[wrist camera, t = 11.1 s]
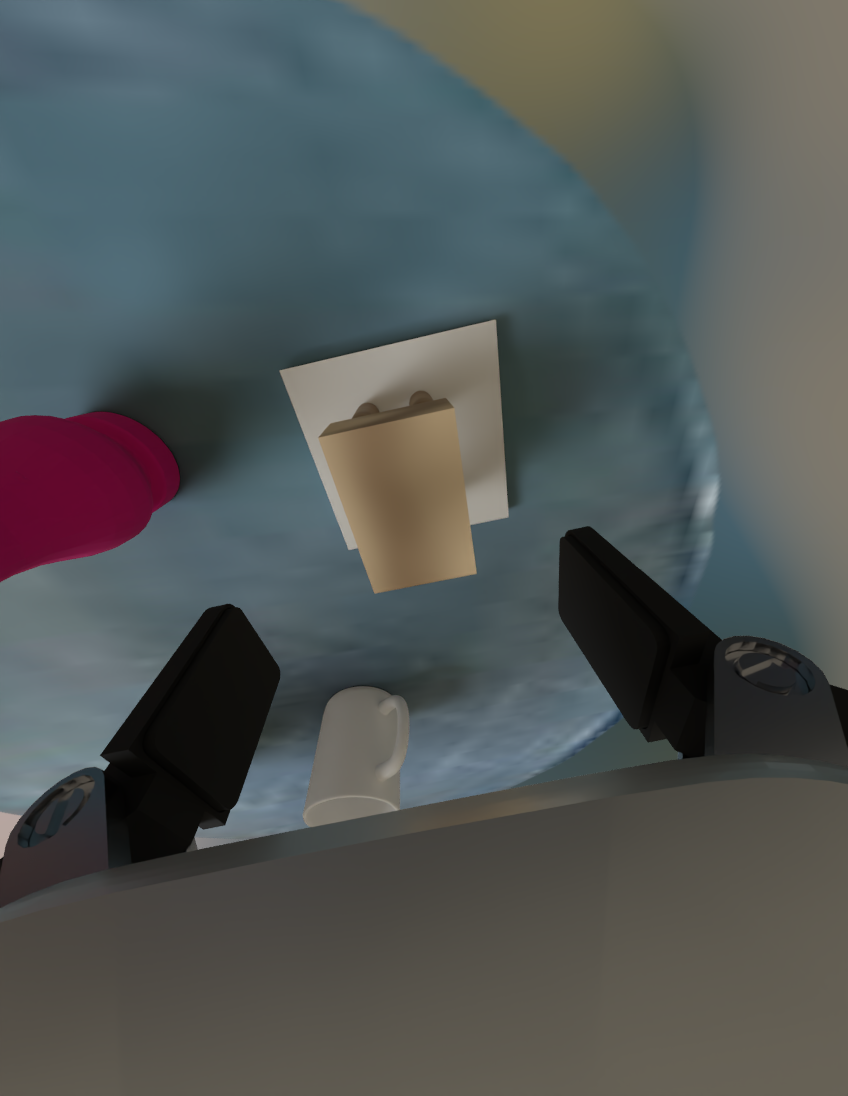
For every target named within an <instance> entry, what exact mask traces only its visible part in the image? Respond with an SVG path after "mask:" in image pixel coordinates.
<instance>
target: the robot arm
mask: <svg viewBox="0 0 848 1096" xmlns="http://www.w3.org/2000/svg"><path fill="white" fill-rule="evenodd" d="M558 609H559V614H560V617H561V619H562V621H563V623H564V624H565V626H566V627H567V629H568V630H569V632H570V634H571V635H572V637H573V638H574V640H575V641H576V643H577V645H578V646H579V648H580V649H581V651H582V652H583V654H584V655H585V657H586V659H587V660H588V662H589V663H590V665H591V666H592V668H593V670H594V671H595V673H596V674H597V676H598V677H599V679H600V680H601V682H602V684H603V685H604V687H605V688H606V690H607V691H608V693H609V695H610V696H611V698H612V699H613V701H614V702H615V704H616V705H617V707H618V709H619V710H620V712H621V713H622V715H623V716H624V718H625V719H626V721H627V722H628V724H629V725H630V726H631V727H632V728H633V729H639V730H640V731H641V733H642V734H643V736H644V737H645V739H646V740H647V742H653V741H658V740H663V739H668V741H669V742H670V744H671V745H672V747H673V748H674V749H675V750H676V751H678V760H670V761H664V762H658V763H652V764H647V765H640V766H634V767H628V768H622V769H617V770H611V771H605V772H599V773H593V774H587V775H581V776H576V777H571V778H565V779H560V780H555V781H550V782H544V783H539V784H534V785H528V786H523V787H518V788H512V789H507V790H502V791H496V792H491V793H486V794H481V795H475V796H470V797H465V798H459V799H454V800H449V801H444V802H439V803H433V804H428V805H423V806H418V807H413V808H407V809H402V810H397V811H392V812H387V813H382V814H376V815H371V816H366V817H361V818H356V819H351V820H346V821H340V822H335V823H330V824H325V825H320V826H315V827H310V828H304V829H299V830H294V831H289V832H284V833H279V834H274V835H269V836H264V837H259V838H254V839H249V840H244V841H239V842H234V843H230V844H224V845H219V846H214V847H209V848H204V849H199V850H198V849H197V845H196V842H195V838H194V836H195V834H196V831H197V829H198V826H199V827H200V828H202V829H208V828H213V827H218V826H223V825H225V824H226V821H227V818H228V815H229V813H230V810H231V809H232V808H233V807H234V806H235V805H236V803H237V801H238V799H239V796H240V793H241V791H242V788H243V785H244V782H245V779H246V776H247V773H248V770H249V767H250V764H251V761H252V759H253V756H254V753H255V750H256V747H257V744H258V741H259V738H260V735H261V732H262V729H263V727H264V724H265V721H266V718H267V715H268V712H269V709H270V706H271V703H272V700H273V697H274V695H275V692H276V689H277V686H278V683H279V680H280V669H279V666H278V665H277V663H276V662H275V660H274V659H273V657H272V656H271V654H270V653H269V651H268V650H267V648H266V647H265V645H264V644H263V642H262V640H261V639H260V637H259V636H258V634H257V633H256V631H255V630H254V628H253V627H252V625H251V624H250V622H249V621H248V619H247V618H246V616H245V615H244V613H243V612H242V610H241V609H240V608H238V607H235V606H233V605H232V604H225V605H221V606H216V607H211V608H208V609H207V610H206V611H205V612H204V613H203V614H202V616H201V617H200V619H199V620H198V621H197V623H196V624H195V625H194V627H193V628H192V630H191V631H190V632H189V634H188V635H187V636H186V638H185V639H184V641H183V642H182V643H181V645H180V646H179V647H178V649H177V650H176V652H175V653H174V654H173V656H172V657H171V658H170V660H169V661H168V663H167V664H166V665H165V667H164V668H163V669H162V671H161V672H160V674H159V675H158V676H157V678H156V679H155V680H154V682H153V683H152V685H151V686H150V687H149V689H148V690H147V692H146V693H145V694H144V696H143V697H142V698H141V700H140V701H139V703H138V704H137V705H136V707H135V708H134V709H133V711H132V712H131V714H130V715H129V716H128V718H127V719H126V720H125V722H124V723H123V725H122V726H121V727H120V729H119V730H118V731H117V733H116V734H115V736H114V737H113V738H112V740H111V741H110V742H109V744H108V745H107V747H106V748H105V749H104V751H103V752H102V753H101V755H100V756H101V757H103V758H104V759H105V760H107V761H108V762H110V764H109V765H108V767H107V768H106V769H105V771H103V770H102V769H99V768H97V767H90V768H84V769H82V770H79V771H77V772H74V773H72V774H71V775H69V776H67V777H66V778H64V779H62V780H61V781H59V782H58V783H56V784H55V785H54V786H53V787H51V788H50V789H49V790H47V791H46V792H45V793H44V794H43V795H42V796H41V797H40V798H38V799H37V800H36V801H35V802H34V803H33V804H32V805H31V806H30V807H29V809H28V810H27V811H26V812H25V813H24V814H23V816H22V817H21V818H20V819H19V821H18V822H17V824H16V825H15V827H14V829H13V830H12V832H11V833H10V836H9V838H8V841H7V844H6V847H5V852H4V857H3V858H1V859H0V1096H848V690H846V689H842V688H839V687H836V686H833V685H830V684H829V682H828V680H827V678H826V676H825V675H824V673H823V671H822V670H821V669H820V668H819V667H817V666H816V665H815V664H814V663H813V662H812V661H811V660H810V659H808V658H807V657H805V656H804V655H802V654H801V653H799V652H798V651H796V650H793V649H791V648H789V647H787V646H785V645H783V644H780V643H778V642H774V641H771V640H768V639H765V638H759V637H753V636H733V637H729V638H726V639H723V640H721V639H720V638H719V637H718V636H717V635H715V634H714V633H713V632H712V631H711V630H710V629H709V628H708V627H706V626H705V625H704V624H703V623H702V622H700V621H699V620H698V619H697V618H696V617H695V616H694V615H692V614H691V613H690V612H689V611H688V610H687V609H686V608H684V607H683V606H682V605H681V604H680V603H679V602H677V601H676V600H675V599H674V598H673V597H672V596H671V595H669V594H668V593H667V592H666V591H665V590H664V589H662V588H661V587H660V586H659V585H658V584H657V583H655V582H654V581H653V580H652V579H651V578H650V577H649V576H647V575H646V574H645V573H644V572H643V571H642V570H640V569H639V568H638V567H636V566H635V565H634V564H633V563H632V562H631V561H630V560H628V559H627V558H626V557H625V556H624V555H623V554H621V553H620V552H619V551H618V550H617V549H616V548H615V547H613V546H612V545H611V544H610V543H609V542H608V541H606V540H605V539H604V538H603V537H602V536H601V535H600V534H598V533H597V532H596V531H595V530H594V529H593V528H591V527H590V526H587V527H582V528H578V529H573V530H568V531H567V532H566V535H565V537H562V538H561V539H560V556H559V603H558Z"/></svg>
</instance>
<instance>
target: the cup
mask: <svg viewBox="0 0 848 1096" xmlns="http://www.w3.org/2000/svg"><path fill="white" fill-rule="evenodd" d="M408 739H409V711H408V706H407V703H406V701H405V700H404V698H403V697H401V696H399V695H390V694H389V693H388V692H386V691H384V690H382V689H379V688H375V687H368V686H357V687H351V688H347V689H344V690H342V691H340V692H338V693H336V694H335V695H334V696H333V697H332V698H331V699H330V700H329V701H328V703H327V705H326V708H325V710H324V714H323V719H322V724H321V729H320V734H319V739H318V744H317V748H316V753H315V758H314V763H313V768H312V773H311V778H310V783H309V788H308V793H307V797H306V802H305V807H304V812H303V819H304V821H305V823H306V824H307V825H308V826H309V827H315V826H320V825H325V824H330V823H335V822H340V821H346V820H351V819H356V818H361V817H366V816H371V815H376V814H382V813H387V812H392V811H397V810H400V768H401V766H402V764H403V762H404V759H405V756H406V752H407V747H408Z"/></svg>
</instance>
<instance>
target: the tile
mask: <svg viewBox="0 0 848 1096" xmlns="http://www.w3.org/2000/svg"><path fill="white" fill-rule="evenodd" d="M280 374H281V376H282V379H283V381H284V384H285V386H286V389H287V392H288V394H289V397H290V399H291V402H292V405H293V407H294V410H295V412H296V415H297V417H298V420H299V423H300V425H301V428H302V430H303V433H304V436H305V438H306V441H307V443H308V446H309V448H310V451H311V454H312V456H313V459H314V461H315V464H316V467H317V469H318V472H319V474H320V477H321V479H322V482H323V485H324V487H325V490H326V492H327V495H328V498H329V500H330V503H331V505H332V508H333V510H334V513H335V516H336V518H337V521H338V523H339V526H340V529H341V531H342V534H343V536H344V539H345V541H346V544H347V547H348V549H349V550H351V549H356V548H358V547H357V544H356V541H355V538H354V536H353V533H352V530H351V527H350V525H349V522H348V519H347V516H346V514H345V511H344V508H343V505H342V503H341V500H340V497H339V494H338V492H337V489H336V486H335V483H334V481H333V478H332V475H331V472H330V470H329V467H328V464H327V461H326V459H325V456H324V453H323V450H322V447H321V445H320V442H319V439H318V437H319V436H320V435H321V434H322V432H323V431H324V430H325V429H326V428H327V427H328V425H329V424H330V423H334V422H339V421H343V420H348V419H352V417H353V415H354V414H355V412H356V411H357V409H358V407H359V406H360V405H361V404H363V403H372V404H374V405H375V406H376V407H377V408H378V410H379V412H384V411H388V410H393V409H397V408H402V407H406V406H409V401H410V398H411V396H412V395H413V394H414V393H415V392H417V391H425V392H427V393H428V394H429V395H430V396H431V397H432V399H433V400H438V399H442V398H446V399H447V400H448V401H449V402H450V403H451V404H452V406H453V407H454V409H455V416H456V424H457V431H458V439H459V446H460V454H461V461H462V469H463V476H464V483H465V491H466V498H467V506H468V513H469V521H470V525H473V524H478V523H483V522H488V521H493V520H497V519H502V518H507V517H509V515H508V500H507V484H506V469H505V453H504V438H503V422H502V407H501V391H500V376H499V360H498V345H497V329H496V320H491V321H487V322H483V323H479V324H474V325H470V326H466V327H462V328H457V329H453V330H449V331H445V332H441V333H436V334H432V335H428V336H424V337H419V338H415V339H411V340H407V341H402V342H398V343H394V344H390V345H386V346H381V347H377V348H373V349H369V350H364V351H360V352H356V353H352V354H347V355H343V356H339V357H335V358H331V359H326V360H322V361H318V362H314V363H309V364H305V365H301V366H297V367H292V368H288V369H284V370H280Z"/></svg>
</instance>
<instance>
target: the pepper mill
mask: <svg viewBox="0 0 848 1096" xmlns="http://www.w3.org/2000/svg"><path fill="white" fill-rule="evenodd" d="M179 483H180V475H179V469H178V465H177V463H176V461H175V459H174V457H173V454H172V453H171V451H170V450H169V448H168V447H167V446H166V445H165V444H164V442H163V441H162V440H161V439H160V438H159V437H158V436H157V435H155V434H154V433H153V432H152V431H151V430H149V429H148V428H147V427H145V426H144V425H142V424H140V423H138V422H136V421H135V420H133V419H131V418H128V417H125V416H123V415H119V414H116V413H110V412H92V413H87V414H83V415H78V416H74V417H69V418H66V419H62V418H57V417H52V416H37V415H33V416H20V417H16V418H12V419H8V420H5V421H2V422H0V582H1V581H3V580H5V579H7V578H9V577H11V576H13V575H15V574H18V573H21V572H24V571H26V570H29V569H32V568H35V567H38V566H40V565H45V564H50V563H54V562H59V561H64V560H70V559H76V558H81V557H87V556H92V555H95V554H98V553H101V552H104V551H108V550H110V549H113V548H116V547H118V546H120V545H121V544H123V543H125V542H126V541H128V540H130V539H132V538H133V537H135V536H136V535H138V534H139V533H140V532H141V531H142V530H143V529H144V528H145V527H146V525H147V523H148V522H149V520H150V518H151V515H152V513H153V512H154V511H156V510H157V509H159V508H160V507H162V506H163V505H165V504H166V503H167V502H169V501H170V500H171V499H172V498H173V497H174V496H175V494H176V492H177V491H178V488H179Z"/></svg>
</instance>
